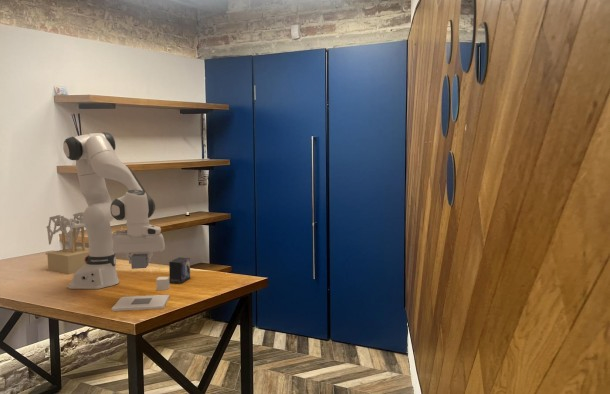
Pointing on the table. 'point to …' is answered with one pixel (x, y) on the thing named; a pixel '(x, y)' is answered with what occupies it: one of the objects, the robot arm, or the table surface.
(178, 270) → the small box
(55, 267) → the kinetic sculpture
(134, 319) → the table surface
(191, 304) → the table surface
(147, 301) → the plate
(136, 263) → the slate block
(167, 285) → the off-white block
